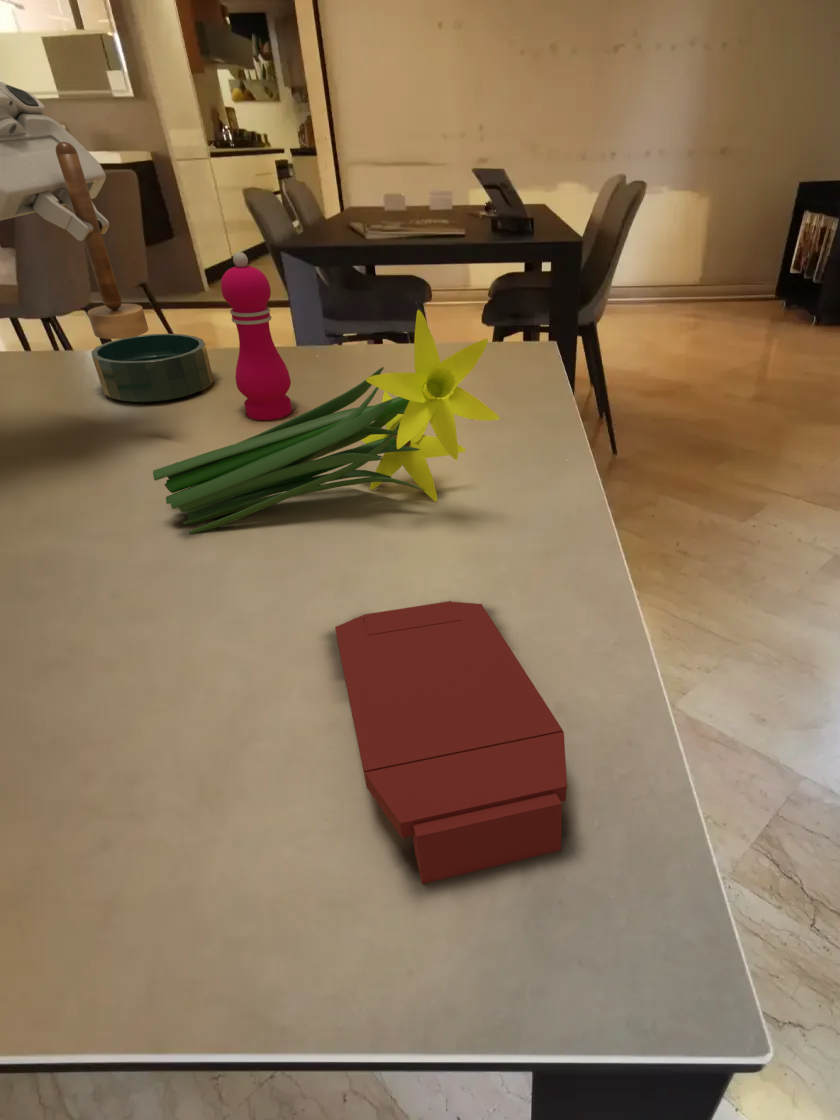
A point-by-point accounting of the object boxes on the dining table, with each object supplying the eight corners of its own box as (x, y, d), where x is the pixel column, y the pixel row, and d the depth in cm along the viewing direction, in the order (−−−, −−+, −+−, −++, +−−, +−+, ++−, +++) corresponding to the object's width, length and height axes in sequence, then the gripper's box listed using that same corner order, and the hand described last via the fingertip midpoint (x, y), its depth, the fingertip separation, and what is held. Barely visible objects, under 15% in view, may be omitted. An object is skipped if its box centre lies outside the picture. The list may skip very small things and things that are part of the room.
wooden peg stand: (83, 335, 82) (17, 142, 71) (125, 323, 87) (69, 139, 75) (118, 341, 80) (56, 144, 69) (159, 329, 84) (107, 140, 73)
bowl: (82, 395, 104) (67, 353, 101) (165, 367, 115) (155, 329, 111) (154, 412, 98) (142, 368, 95) (235, 382, 109) (226, 341, 106)
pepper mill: (232, 418, 97) (196, 255, 84) (260, 402, 102) (230, 246, 90) (278, 424, 95) (248, 258, 83) (305, 407, 100) (280, 248, 88)
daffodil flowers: (199, 486, 81) (480, 385, 82) (225, 596, 77) (523, 488, 77) (110, 394, 65) (461, 268, 66) (137, 526, 61) (514, 390, 61)
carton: (341, 670, 59) (386, 897, 38) (333, 619, 57) (376, 830, 36) (479, 647, 62) (592, 846, 41) (477, 596, 59) (596, 781, 38)
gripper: (-94, 95, 62) (54, 224, 67) (41, 93, 78) (152, 197, 83) (-114, 156, 65) (29, 274, 70) (20, 142, 81) (128, 240, 86)
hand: (96, 232), depth 77 cm, fingers closed on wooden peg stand
